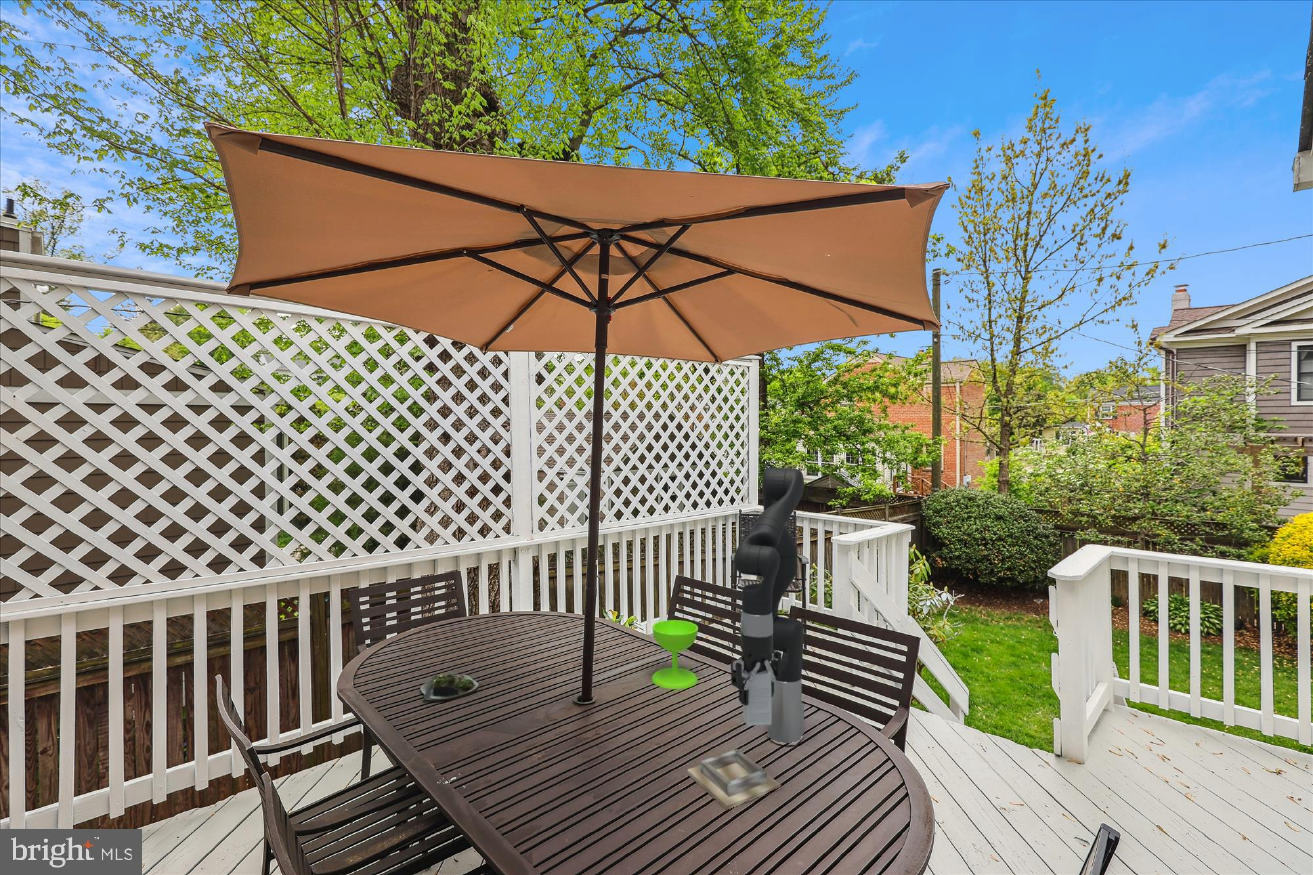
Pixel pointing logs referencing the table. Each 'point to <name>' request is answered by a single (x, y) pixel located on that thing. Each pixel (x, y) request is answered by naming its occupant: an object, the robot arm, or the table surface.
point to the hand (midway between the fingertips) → (756, 700)
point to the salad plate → (448, 688)
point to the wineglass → (675, 652)
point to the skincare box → (759, 700)
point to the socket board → (732, 778)
